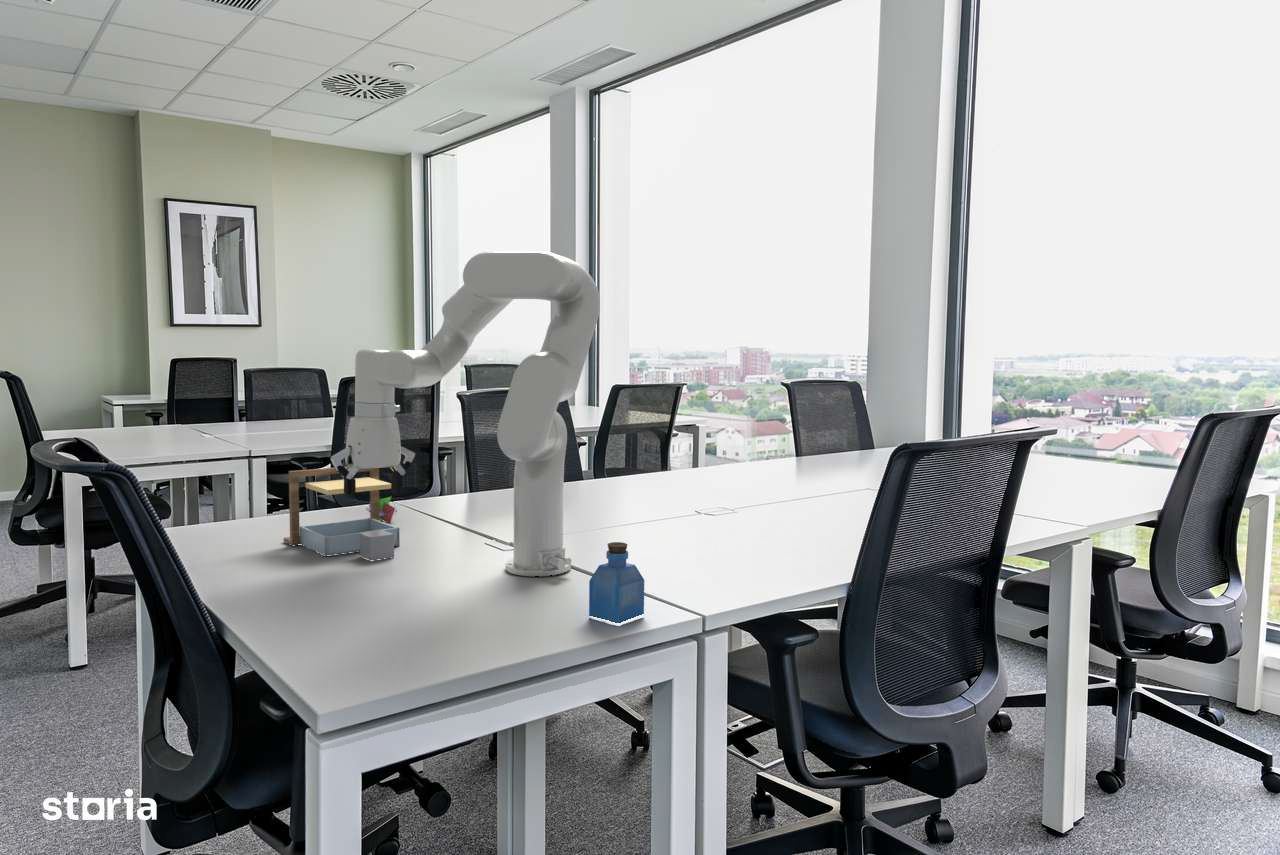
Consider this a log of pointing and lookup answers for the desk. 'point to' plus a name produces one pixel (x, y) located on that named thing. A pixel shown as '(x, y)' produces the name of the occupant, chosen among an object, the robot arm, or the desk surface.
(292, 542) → the bracket
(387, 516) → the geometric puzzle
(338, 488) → the flap
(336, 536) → the tray
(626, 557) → the perfume bottle
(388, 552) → the gray cube
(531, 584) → the desk surface
